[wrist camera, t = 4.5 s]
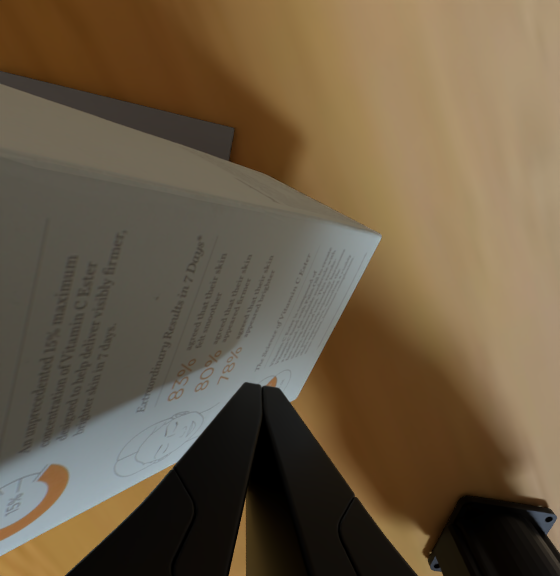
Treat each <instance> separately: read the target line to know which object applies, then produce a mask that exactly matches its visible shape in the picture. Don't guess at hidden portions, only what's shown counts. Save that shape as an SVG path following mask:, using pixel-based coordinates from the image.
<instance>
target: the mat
mask: <svg viewBox="0 0 560 576" xmlns="http://www.w3.org/2000/svg"><path fill="white" fill-rule="evenodd" d="M0 84H3V85H6V86H9V87H11V88H14V89H17V90H20V91H23V92H26V93H29V94H32V95H35V96H38V97H41V98H44V99H47V100H50V101H53V102H56V103H59V104H62V105H65V106H68V107H71V108H74V109H77V110H80V111H83V112H86V113H89V114H92V115H94V116H97V117H100V118H103V119H105V120H108V121H111V122H114V123H117V124H120V125H123V126H126V127H129V128H132V129H135V130H138V131H141V132H144V133H147V134H150V135H153V136H156V137H160V138H163V139H166V140H169V141H172V142H175V143H178V144H181V145H184V146H187V147H190V148H193V149H196V150H198V151H201V152H204V153H207V154H210V155H212V156H215V157H218V158H221V159H224V160H227V161H229V158H230V152H231V147H232V141H233V135H234V129H235V128H232V127H228V126H224V125H219V124H215V123H211V122H207V121H203V120H199V119H195V118H191V117H187V116H183V115H178V114H174V113H170V112H166V111H162V110H158V109H154V108H150V107H146V106H142V105H137V104H133V103H129V102H125V101H121V100H117V99H113V98H109V97H105V96H101V95H96V94H92V93H88V92H84V91H80V90H76V89H72V88H68V87H64V86H60V85H55V84H51V83H47V82H43V81H39V80H35V79H31V78H27V77H23V76H19V75H15V74H10V73H6V72H2V71H0Z"/></svg>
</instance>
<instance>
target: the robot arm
mask: <svg viewBox="0 0 560 576" xmlns="http://www.w3.org/2000/svg"><path fill="white" fill-rule="evenodd" d="M245 498H246V576H418V575H417V574H416V573H415V572H414V570H413V569H412V568H411V567H410V566H409V565H408V563H407V562H406V561H405V560H404V558H403V557H402V556H401V555H400V553H399V552H398V551H397V550H396V549H395V547H394V546H393V545H392V544H391V542H390V541H389V540H388V539H387V538H386V536H385V535H384V534H383V532H382V531H381V529H380V528H379V527H378V525H377V524H376V523H375V521H374V520H373V519H372V517H371V516H370V515H369V513H368V512H367V511H366V509H365V508H364V506H363V505H362V503H361V502H360V501H359V499H358V498H357V497H355V494H354V492H353V491H352V490H351V488H350V487H349V485H348V484H347V483H346V481H345V480H344V478H343V477H342V475H341V474H340V473H339V471H338V470H337V468H336V467H335V466H334V464H333V463H332V461H331V460H330V458H329V457H328V456H327V454H326V453H325V451H324V450H323V449H322V447H321V446H320V444H319V443H318V441H317V440H316V439H315V437H314V436H313V434H312V433H311V432H310V430H309V429H308V427H307V426H306V425H305V423H304V422H303V420H302V419H301V417H300V416H299V415H298V413H297V412H296V410H295V409H294V408H293V406H292V405H291V403H290V402H289V400H288V399H287V398H286V396H285V395H284V393H283V392H282V391H281V389H280V388H278V387H272V386H266V385H264V386H263V387H262V386H261V385H260V384H255V383H249V382H245V383H243V384H242V386H241V387H240V388H239V389H238V390H237V391H236V393H235V394H234V395H233V396H232V397H231V399H230V400H229V401H228V402H227V403H226V405H225V406H224V407H223V408H222V409H221V411H220V412H219V413H218V414H217V415H216V417H215V418H214V419H213V420H212V421H211V423H210V424H209V425H208V426H207V427H206V429H205V430H204V431H203V432H202V433H201V435H200V436H199V437H198V438H197V439H196V441H195V442H194V443H193V444H192V445H191V447H190V448H189V449H188V450H187V451H186V452H185V454H184V455H183V456H182V457H181V458H180V460H179V461H178V462H177V463H176V464H175V466H174V467H173V469H172V470H170V471H169V473H168V474H167V475H166V476H165V477H164V479H163V480H162V481H161V482H160V483H159V484H158V486H157V487H156V488H155V489H154V490H153V491H152V492H151V493H150V494H149V496H148V497H147V498H146V499H145V500H144V501H143V502H142V503H141V504H140V505H139V506H138V507H137V508H136V509H135V510H134V511H133V512H132V513H131V514H130V515H129V516H128V517H127V518H126V519H125V520H124V521H123V522H122V523H121V524H120V525H119V526H118V527H117V528H116V529H115V530H114V531H113V532H111V533H110V534H109V535H108V536H107V537H106V538H105V539H104V540H103V541H102V542H101V543H100V544H99V545H97V546H96V547H95V548H94V549H93V550H92V551H91V552H90V553H89V554H88V555H87V556H86V557H84V558H83V559H82V560H81V561H80V562H79V563H78V564H77V565H76V566H75V567H74V568H73V569H72V570H70V571H69V572H68V573H67V574H66V575H65V576H229V571H230V567H231V562H232V557H233V553H234V548H235V544H236V539H237V535H238V530H239V526H240V521H241V517H242V512H243V508H244V503H245ZM556 519H557V516H556V515H555V514H554V513H553V511H552V510H551V509H549V508H543V507H537V506H530V505H524V504H517V503H511V502H505V501H498V500H492V499H485V498H479V497H472V496H465V497H462V498H461V499H460V500H459V501H458V503H457V505H456V507H455V509H454V511H453V513H452V515H451V517H450V519H449V520H448V522H447V524H446V526H445V528H444V530H443V532H442V534H441V536H440V538H439V539H438V541H437V543H436V545H435V547H434V549H433V551H432V553H431V555H430V557H429V558H428V563H429V565H430V568H431V569H432V570H434V571H440V572H442V574H443V576H560V553H559V552H558V550H557V549H556V548H555V546H554V545H553V543H552V542H551V541H550V539H549V538H548V536H547V533H548V532H549V530H550V529H551V527H552V526H553V524H554V523H555V521H556Z"/></svg>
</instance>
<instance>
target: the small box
mask: <svg viewBox="0 0 560 576" xmlns="http://www.w3.org/2000/svg"><path fill="white" fill-rule="evenodd" d="M381 237H382V236H381V234H380V233H378V232H376V231H374V230H372V229H370V228H368V227H366V226H364V225H363V224H361V223H359V222H357V221H355V220H353V219H351V218H349V217H347V216H345V215H343V214H341V213H339V212H337V211H335V210H333V209H332V208H330V207H328V206H326V205H324V204H322V203H320V202H318V201H316V200H314V199H312V198H310V197H308V196H306V195H305V194H303V193H301V192H299V191H297V190H295V189H293V188H291V187H289V186H287V185H286V184H284V183H282V182H280V181H278V180H276V179H274V178H272V177H270V176H268V175H266V174H264V173H261V172H258V171H255V170H253V169H249V168H247V167H244V166H241V165H238V164H235V163H232V162H229V161H227V160H224V159H221V158H218V157H215V156H212V155H210V154H207V153H204V152H201V151H198V150H196V149H193V148H190V147H187V146H184V145H181V144H178V143H175V142H172V141H169V140H166V139H163V138H160V137H156V136H153V135H150V134H147V133H144V132H141V131H138V130H135V129H132V128H129V127H126V126H123V125H120V124H117V123H114V122H111V121H108V120H105V119H103V118H100V117H97V116H94V115H92V114H89V113H86V112H83V111H80V110H77V109H74V108H71V107H68V106H65V105H62V104H59V103H56V102H53V101H50V100H47V99H44V98H41V97H38V96H35V95H32V94H29V93H26V92H23V91H20V90H17V89H14V88H11V87H9V86H6V85H3V84H0V556H1V555H3V554H5V553H7V552H9V551H11V550H13V549H14V548H16V547H18V546H20V545H22V544H24V543H26V542H27V541H29V540H31V539H33V538H35V537H37V536H38V535H40V534H42V533H44V532H46V531H48V530H50V529H52V528H54V527H56V526H58V525H59V524H61V523H63V522H65V521H67V520H69V519H71V518H73V517H75V516H77V515H79V514H80V513H82V512H84V511H86V510H88V509H90V508H92V507H94V506H96V505H97V504H99V503H101V502H103V501H105V500H107V499H109V498H111V497H112V496H114V495H116V494H118V493H120V492H122V491H124V490H126V489H127V488H129V487H131V486H133V485H135V484H137V483H139V482H141V481H142V480H144V479H146V478H148V477H150V476H152V475H154V474H156V473H157V472H159V471H161V470H163V469H165V468H167V467H169V466H171V465H172V464H174V463H176V462H178V461H179V460H180V458H181V457H182V456H183V455H184V454H185V452H186V451H187V450H188V449H189V448H190V447H191V445H192V444H193V443H194V442H195V441H196V439H197V438H198V437H199V436H200V435H201V433H202V432H203V431H204V430H205V429H206V427H207V426H208V425H209V424H210V423H211V421H212V420H213V419H214V418H215V417H216V415H217V414H218V413H219V412H220V411H221V409H222V408H223V407H224V406H225V405H226V403H227V402H228V401H229V400H230V399H231V397H232V396H233V395H234V394H235V393H236V391H237V390H238V389H239V388H240V387H241V386H242V384H243V383H245V382H249V383H255V384H260V385H261V386H262V387H263V386H264V385H266V386H272V387H278V388H280V389H281V391H282V392H283V393H284V395H285V396H286V398H287V399H288V400H289V402H291V401H293V400H295V399H296V398H297V396H298V395H299V393H300V391H301V389H302V387H303V385H304V384H305V382H306V380H307V378H308V376H309V374H310V372H311V371H312V369H313V367H314V365H315V363H316V361H317V359H318V358H319V356H320V354H321V352H322V350H323V348H324V346H325V344H326V342H327V341H328V339H329V337H330V335H331V333H332V331H333V329H334V327H335V326H336V324H337V322H338V320H339V318H340V316H341V314H342V312H343V311H344V309H345V307H346V305H347V303H348V301H349V299H350V297H351V295H352V293H353V292H354V290H355V288H356V286H357V284H358V282H359V280H360V278H361V276H362V274H363V273H364V271H365V269H366V267H367V265H368V263H369V261H370V259H371V257H372V255H373V253H374V251H375V249H376V247H377V246H378V244H379V242H380V240H381Z"/></svg>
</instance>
